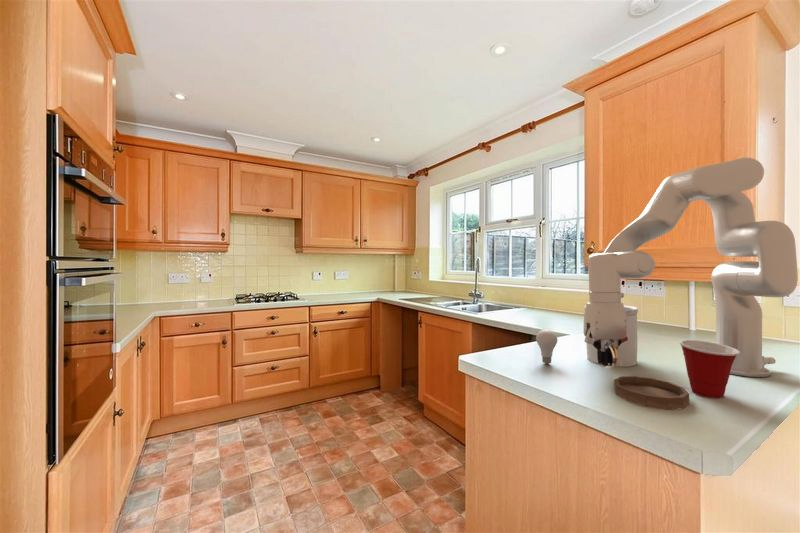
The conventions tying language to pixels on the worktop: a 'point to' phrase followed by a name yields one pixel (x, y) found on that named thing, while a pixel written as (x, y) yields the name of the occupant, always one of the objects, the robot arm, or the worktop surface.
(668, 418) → the worktop surface
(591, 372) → the worktop surface
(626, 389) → the ring dish
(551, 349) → the lightbulb
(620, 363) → the utensil holder
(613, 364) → the gold round band
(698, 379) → the plastic cup
